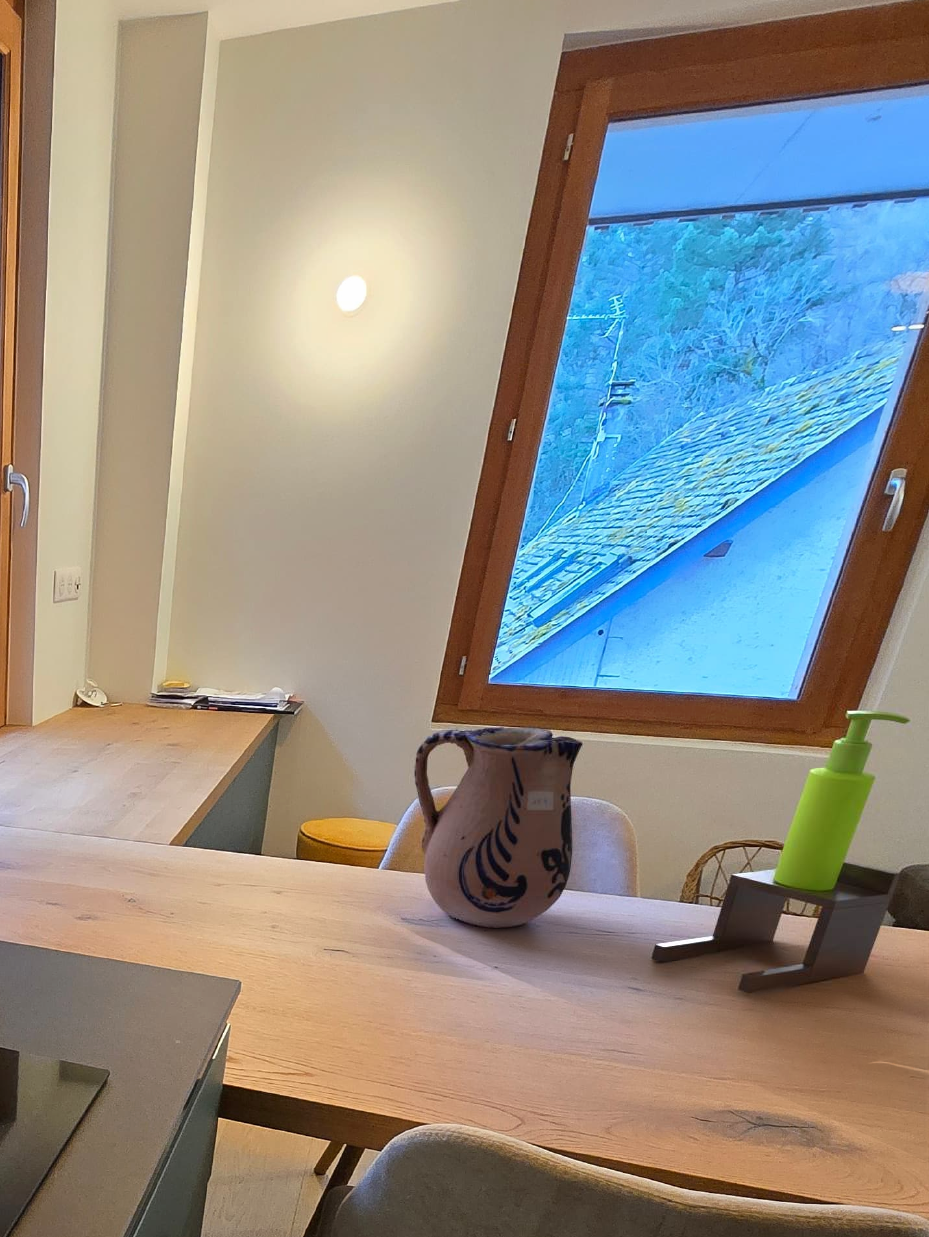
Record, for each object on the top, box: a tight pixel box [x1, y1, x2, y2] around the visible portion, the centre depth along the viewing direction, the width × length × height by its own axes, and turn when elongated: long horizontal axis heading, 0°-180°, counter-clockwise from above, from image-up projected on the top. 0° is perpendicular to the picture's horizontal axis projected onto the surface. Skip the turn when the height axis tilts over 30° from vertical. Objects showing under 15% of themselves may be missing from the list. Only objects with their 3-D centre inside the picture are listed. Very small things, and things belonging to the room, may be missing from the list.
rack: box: [650, 860, 901, 994], centre depth 124 cm, size 12×20×12 cm, turn 110°
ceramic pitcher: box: [414, 726, 583, 929], centre depth 138 cm, size 18×21×25 cm
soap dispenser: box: [773, 710, 911, 891], centre depth 119 cm, size 6×7×20 cm
